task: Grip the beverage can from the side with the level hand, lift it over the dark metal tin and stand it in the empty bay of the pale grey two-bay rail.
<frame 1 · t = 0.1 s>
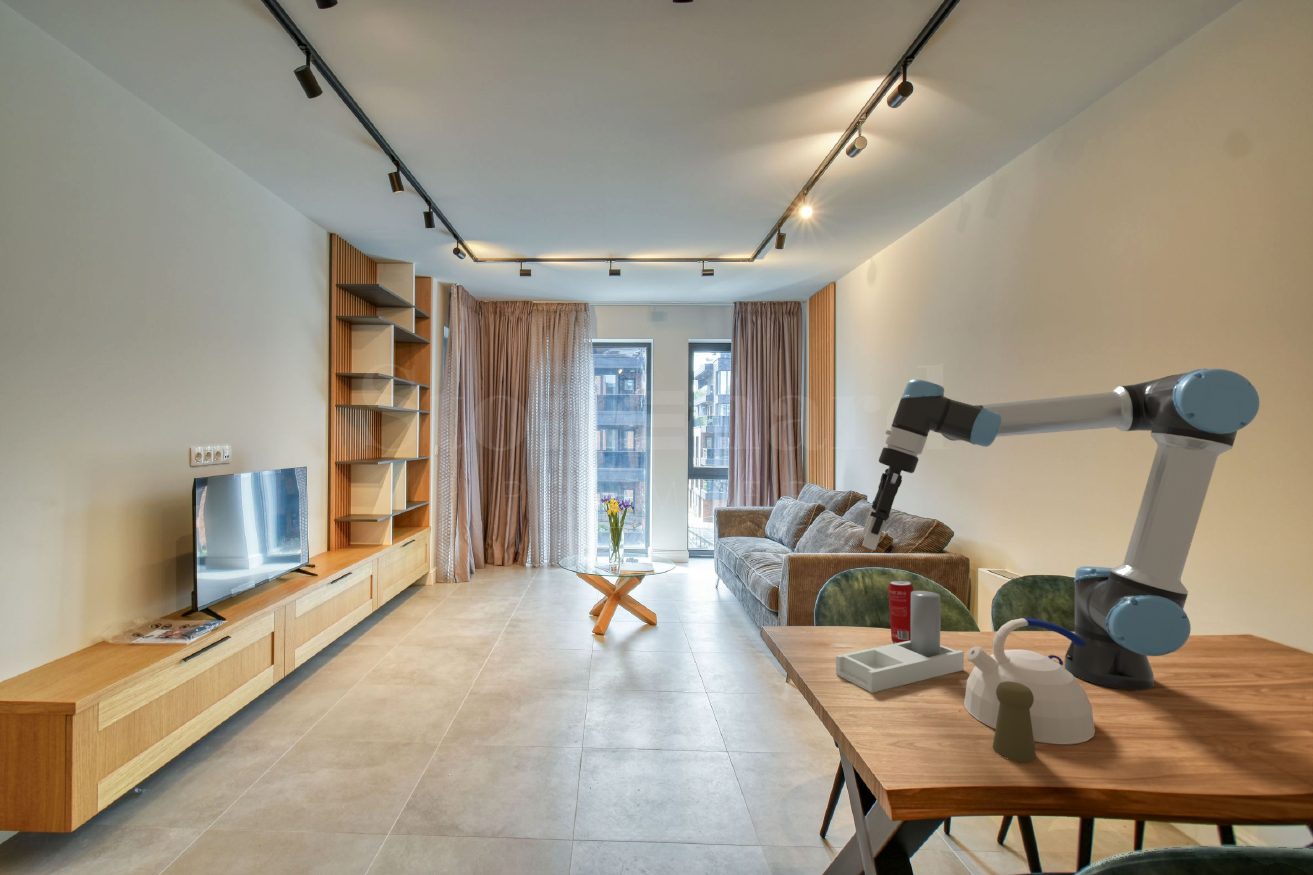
hand: (867, 542, 129), 28 cm above the table, tool tilted 20°, fingers open, 13 cm apart
cork: (1014, 753, 95), on the table
beverage can: (902, 643, 145), on the table
kettle: (1025, 717, 108), on the table
can rail: (900, 671, 127), on the table
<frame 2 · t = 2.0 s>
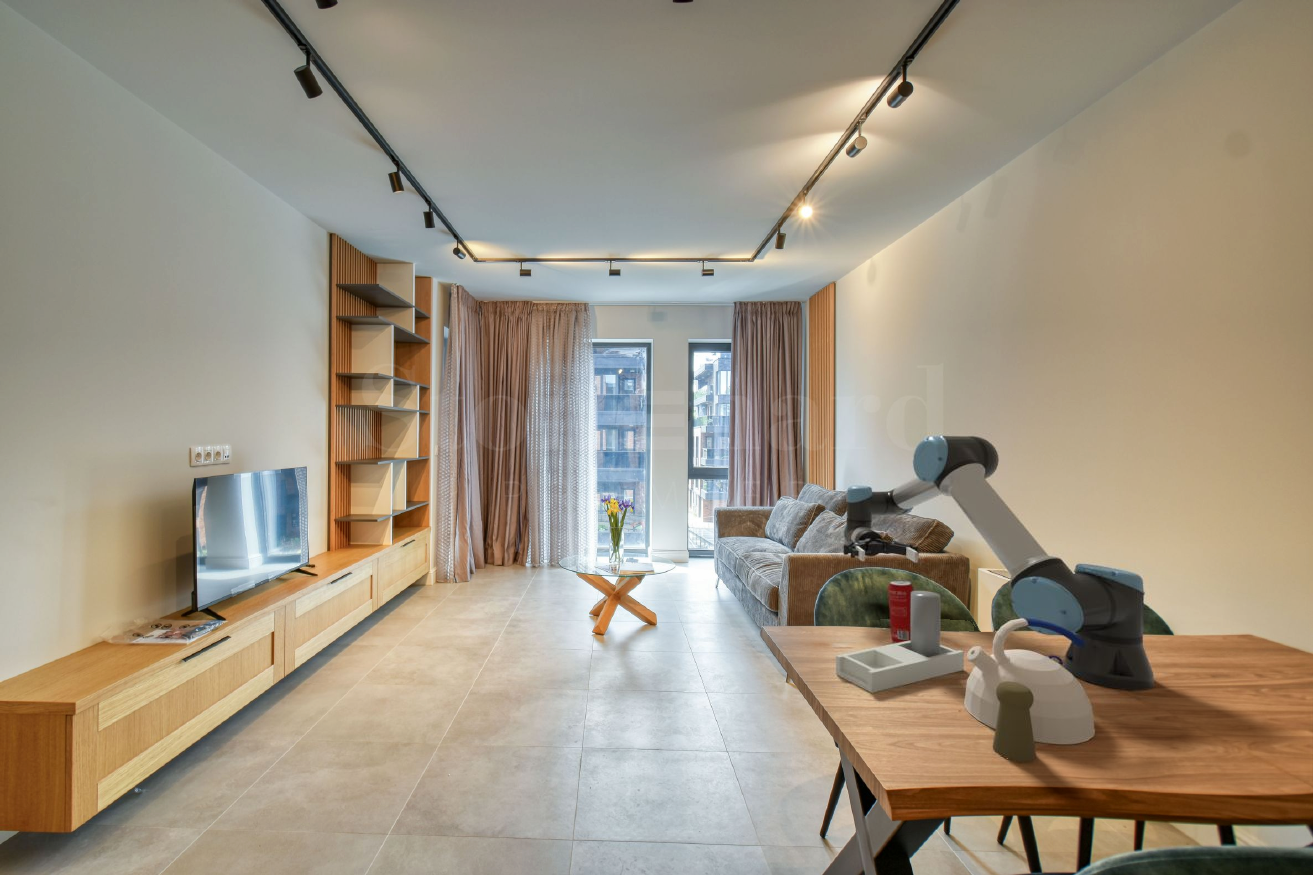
hand: (889, 556, 155), 19 cm above the table, tool horizontal, fingers open, 13 cm apart
nothing on the table moved.
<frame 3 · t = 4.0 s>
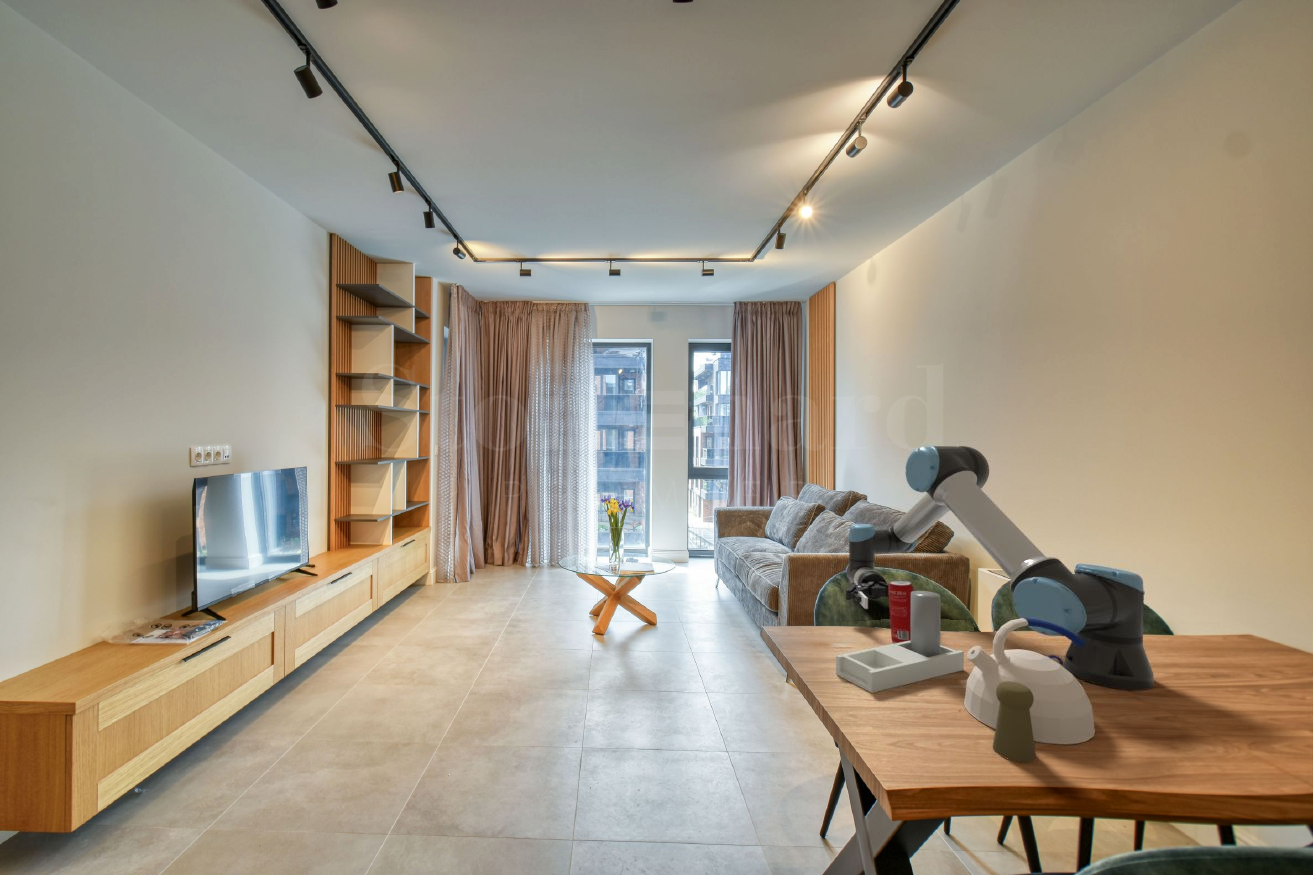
hand: (893, 604, 151), 8 cm above the table, tool horizontal, fingers open, 13 cm apart
nothing on the table moved.
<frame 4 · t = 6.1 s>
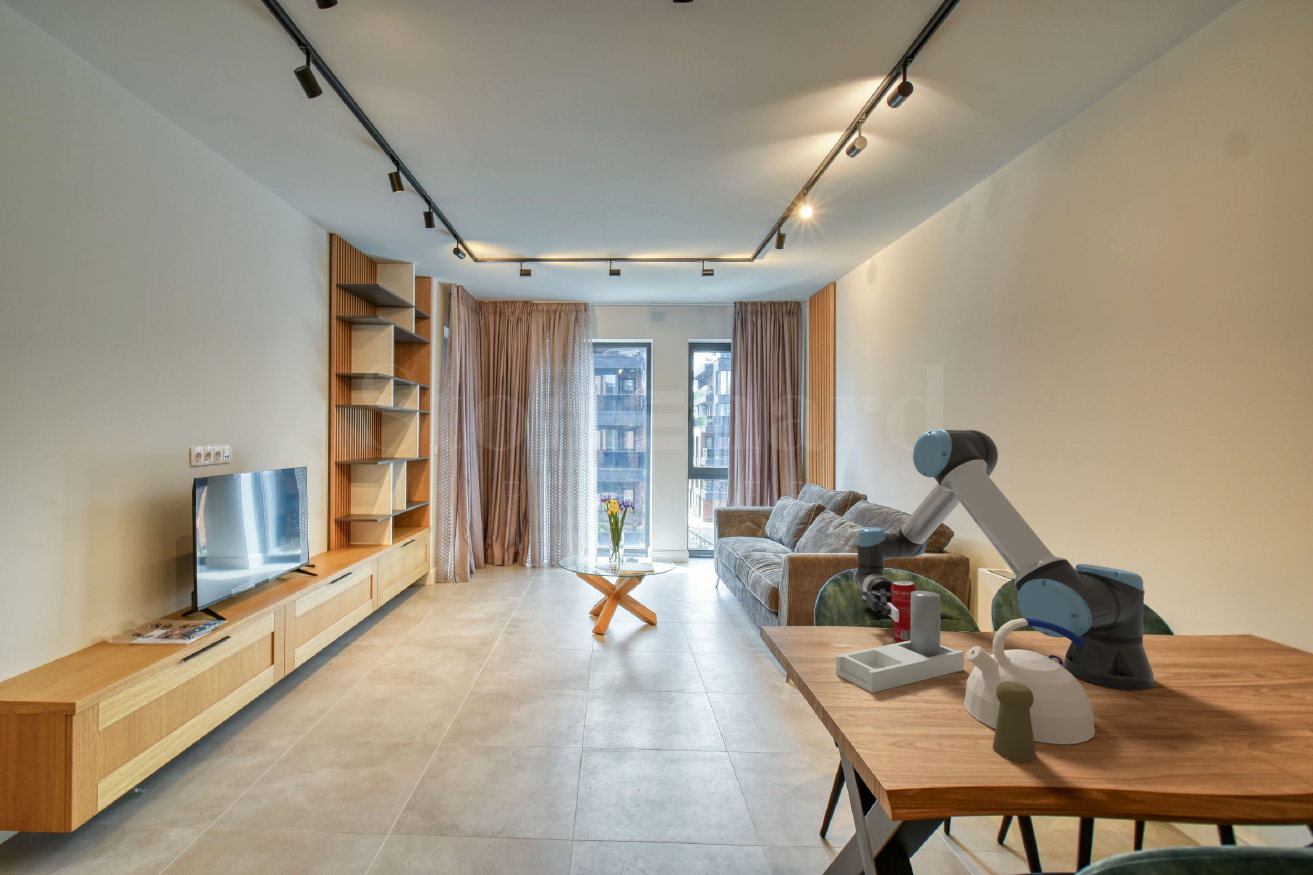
hand: (909, 616, 140), 8 cm above the table, tool horizontal, fingers closed on beverage can, 5 cm apart
beverage can: (904, 643, 145), on the table, touching gripper
everything else where it was.
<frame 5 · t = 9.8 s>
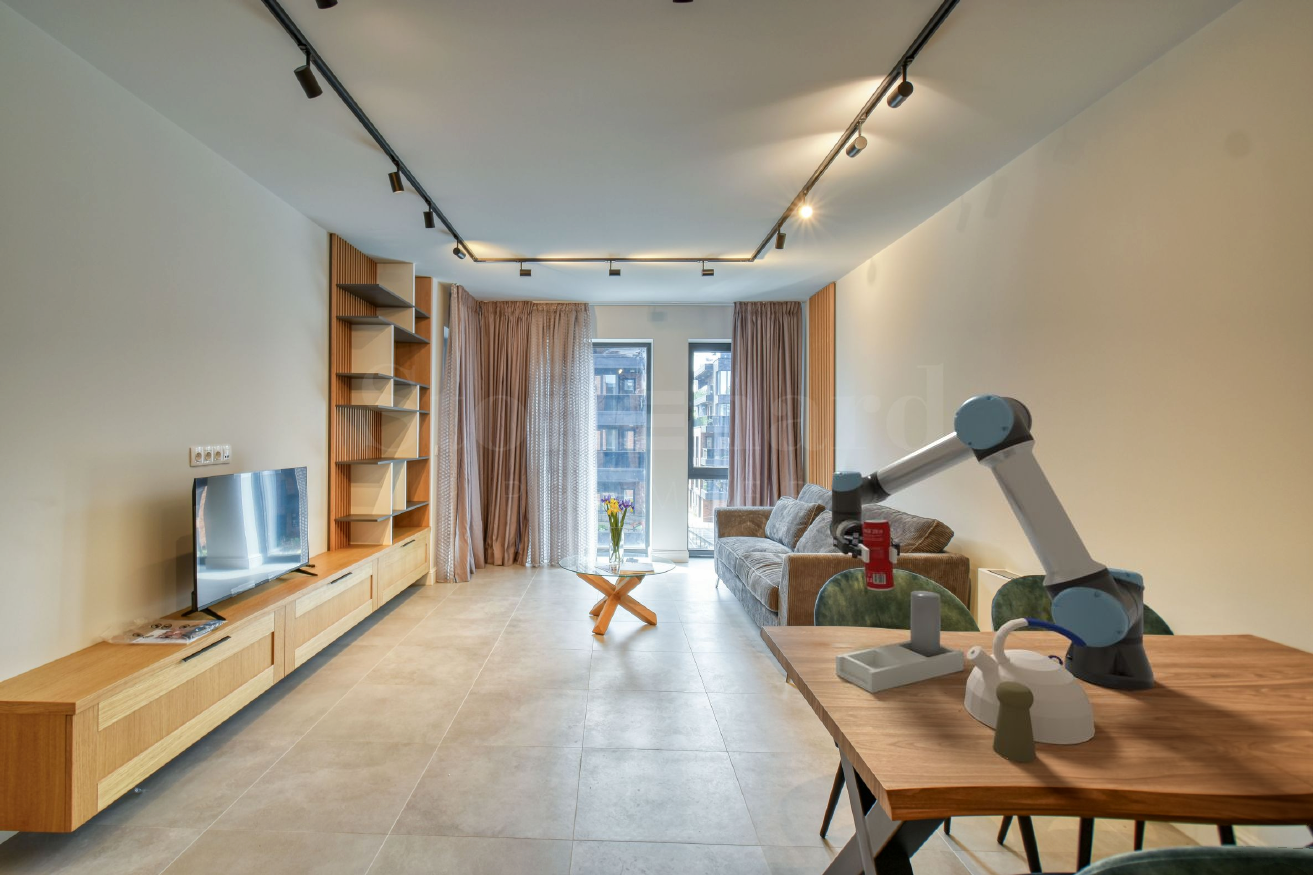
hand: (881, 556, 123), 26 cm above the table, tool horizontal, fingers closed on beverage can, 5 cm apart
beverage can: (877, 589, 128), point 18 cm above the table, touching gripper
everything else where it was.
when the fingers open (10 cm above the table, at t = 13.5 s): beverage can drops 1 cm, resting on can rail.
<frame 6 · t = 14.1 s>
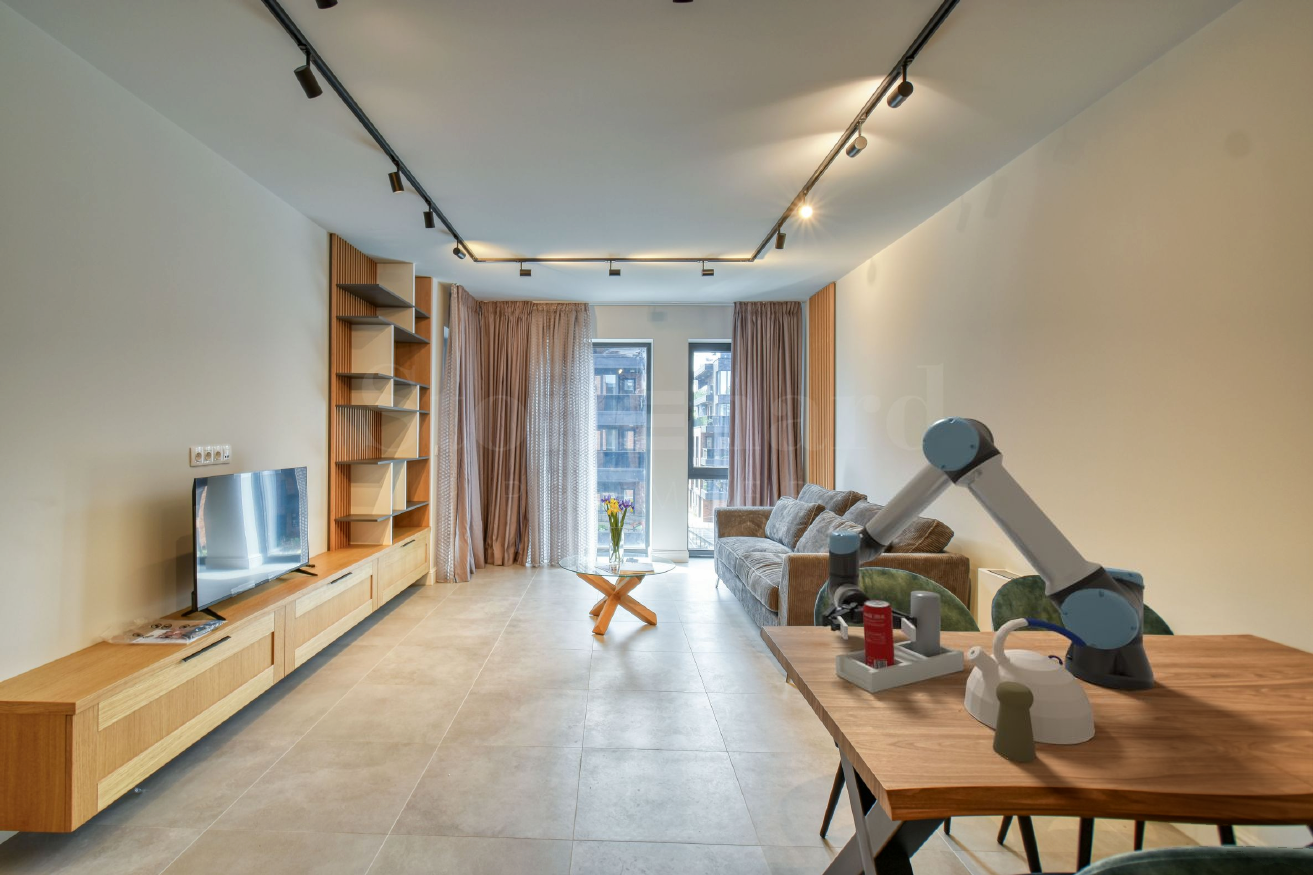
hand: (879, 633, 121), 10 cm above the table, tool horizontal, fingers open, 13 cm apart
beverage can: (878, 674, 124), point 1 cm above the table, touching can rail
everything else where it was.
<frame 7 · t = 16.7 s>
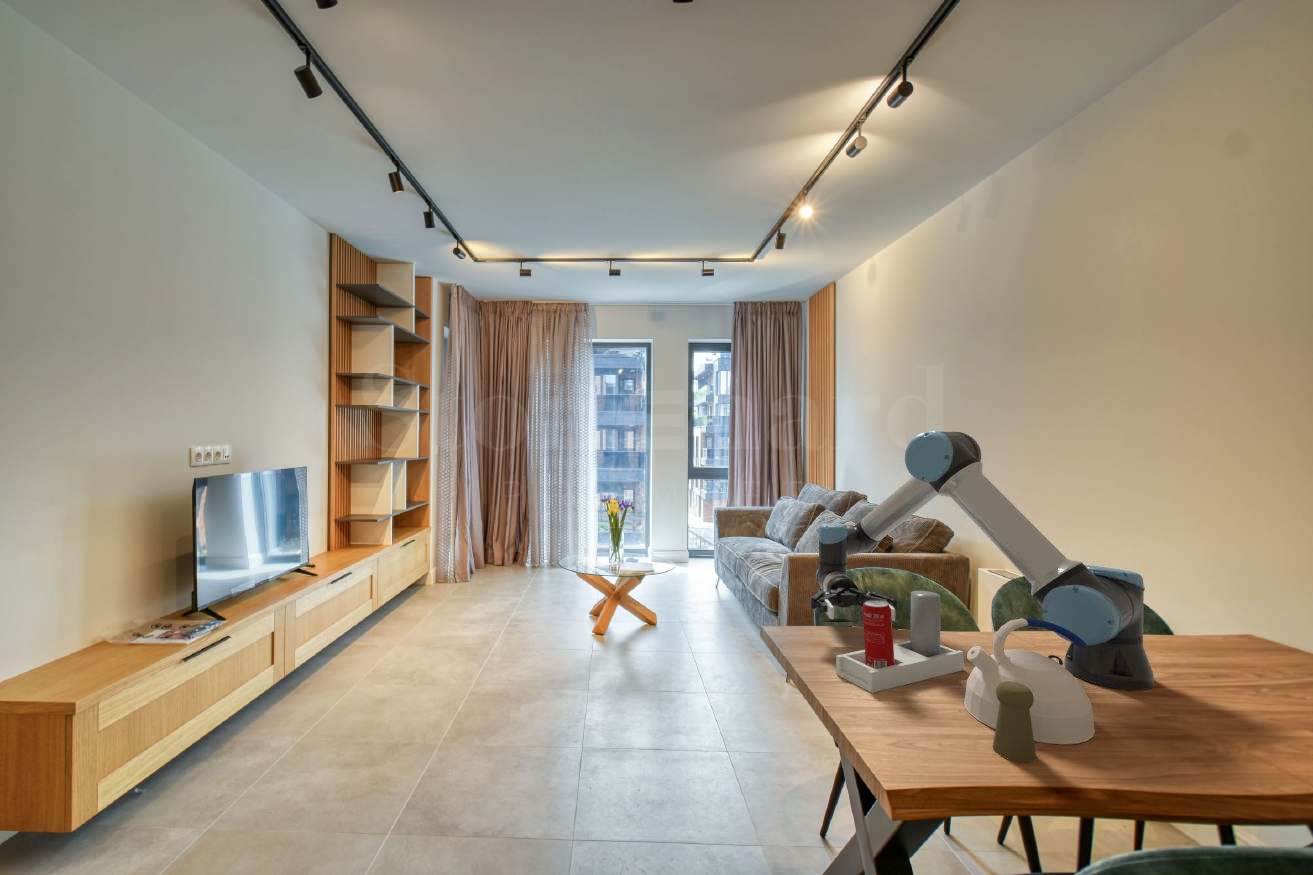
hand: (862, 614, 134), 11 cm above the table, tool horizontal, fingers open, 13 cm apart
nothing on the table moved.
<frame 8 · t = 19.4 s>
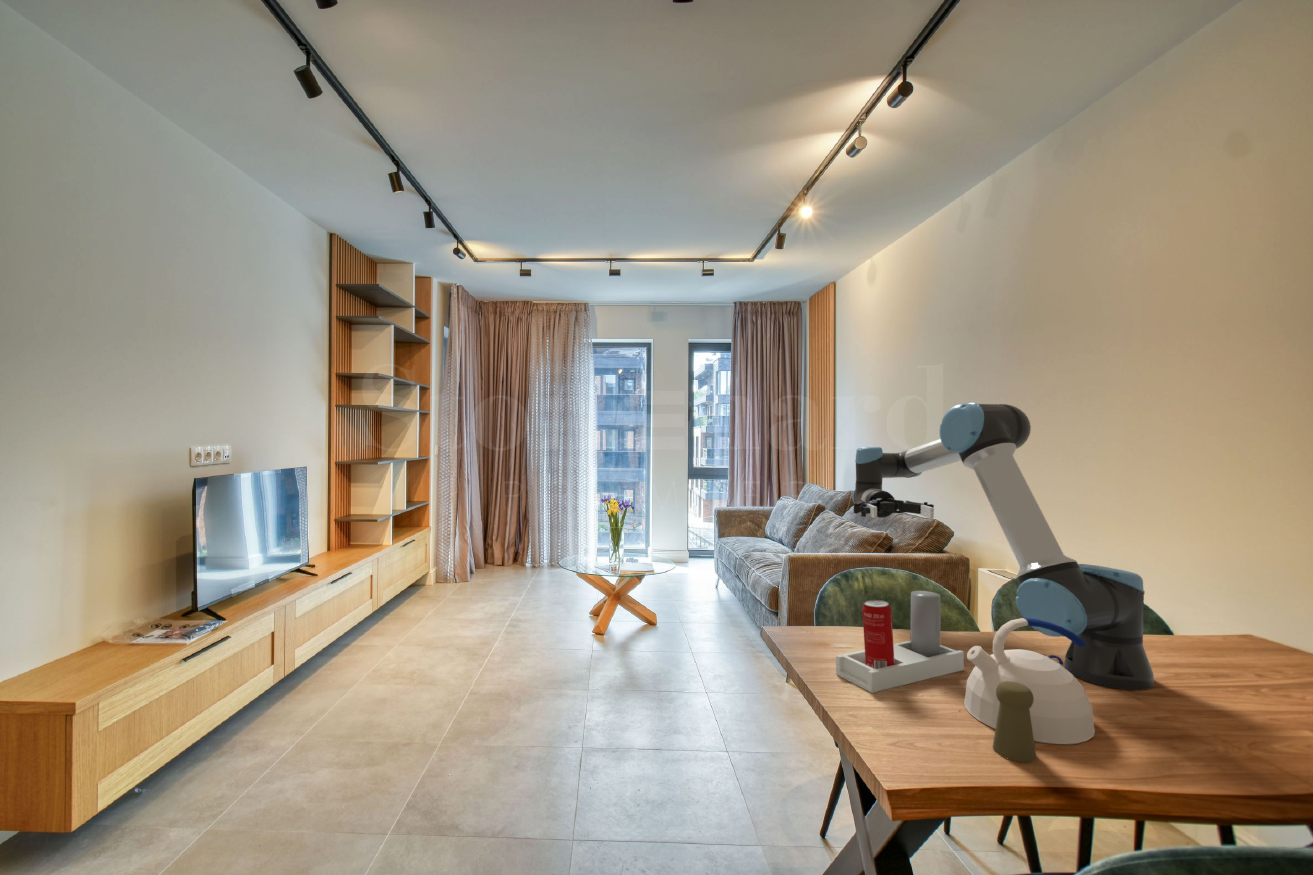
hand: (903, 513, 145), 32 cm above the table, tool horizontal, fingers open, 13 cm apart
nothing on the table moved.
at the end: beverage can 0.8 cm from the target spot on the can rail, point 0.8 cm above the can rail's base; beverage can tilted 0°; the gripper is holding nothing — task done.
